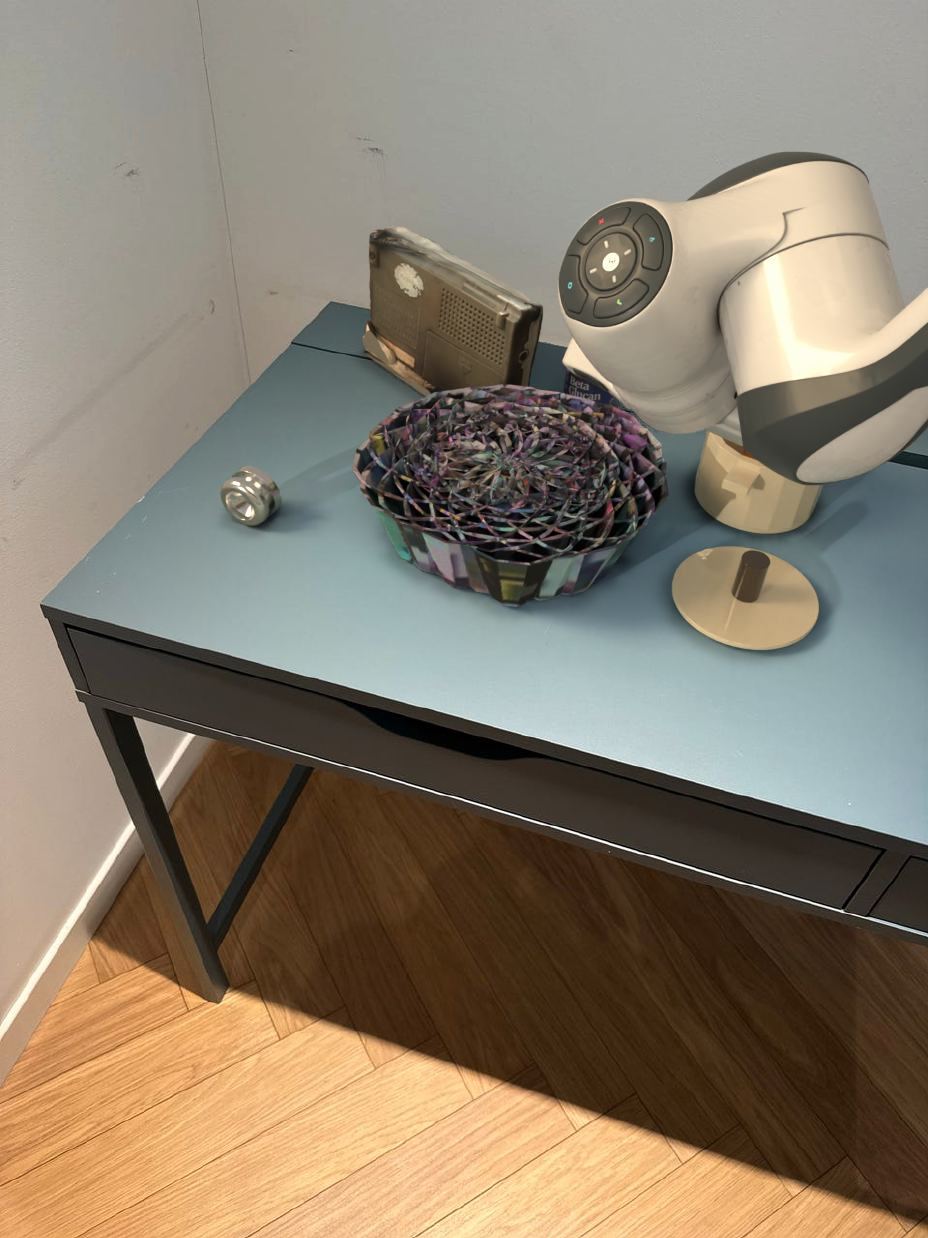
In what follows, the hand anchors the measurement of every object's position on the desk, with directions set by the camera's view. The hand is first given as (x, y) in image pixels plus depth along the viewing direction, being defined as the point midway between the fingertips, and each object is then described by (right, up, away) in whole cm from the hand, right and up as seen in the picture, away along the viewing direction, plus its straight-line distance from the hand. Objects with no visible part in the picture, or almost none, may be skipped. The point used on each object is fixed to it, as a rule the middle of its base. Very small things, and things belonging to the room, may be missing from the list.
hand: (722, 425), depth 79 cm
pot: (+8, -4, +17) cm, 19 cm away
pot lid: (+3, -14, +6) cm, 15 cm away
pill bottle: (-8, +7, +27) cm, 29 cm away
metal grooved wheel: (-41, -6, +13) cm, 44 cm away
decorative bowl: (-17, -8, +12) cm, 22 cm away
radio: (-22, +11, +30) cm, 39 cm away
